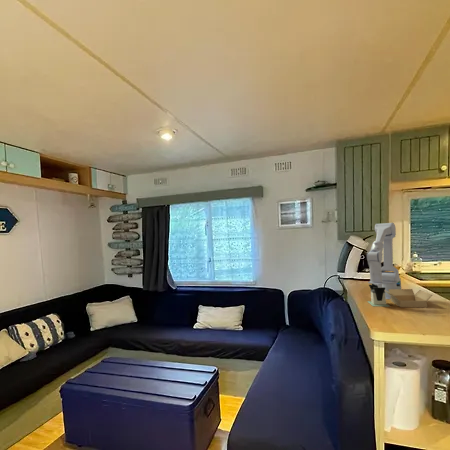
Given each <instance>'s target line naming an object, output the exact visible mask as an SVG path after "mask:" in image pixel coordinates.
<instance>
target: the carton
mask: <svg viewBox="0 0 450 450" xmlns="http://www.w3.org/2000/svg"><path fill="white" fill-rule="evenodd" d="M384 291H385V290H384ZM386 292H387V291H386ZM414 292H415V291H414V290H413V288H401V289H389V292H387V293H388V294H389V295H390V296H391V299H390V302H391V303H393V304H394V305H396V306H398V307H399V308H428V303H427V302H428V301H429V300H430V298H431V297H433V294H432V293H428V292H426V291H423V290H421V289H418V291H417V292H416V293H414Z"/></svg>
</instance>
